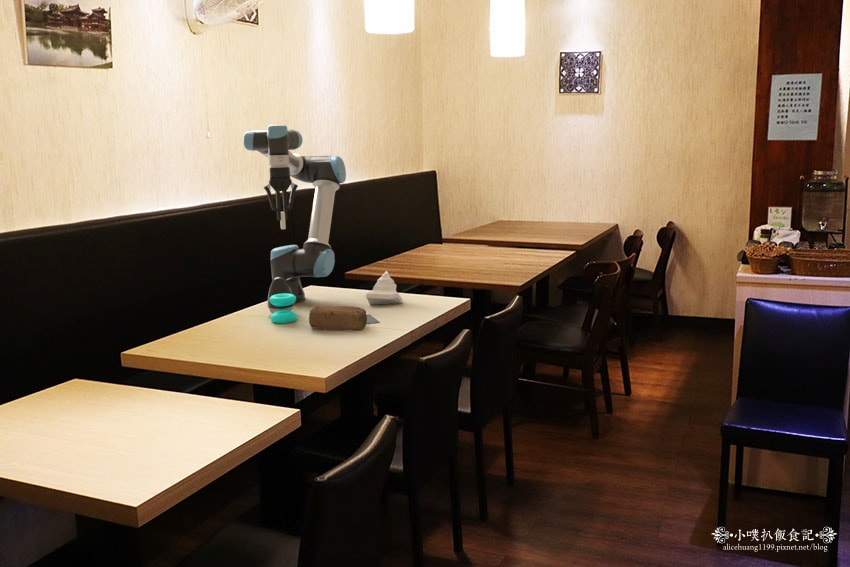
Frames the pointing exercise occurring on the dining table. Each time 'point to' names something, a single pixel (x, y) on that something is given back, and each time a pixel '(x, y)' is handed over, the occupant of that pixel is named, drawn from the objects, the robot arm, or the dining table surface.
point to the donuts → (283, 315)
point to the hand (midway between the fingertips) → (283, 228)
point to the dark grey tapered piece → (279, 287)
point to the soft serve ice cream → (384, 291)
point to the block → (338, 318)
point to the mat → (371, 319)
